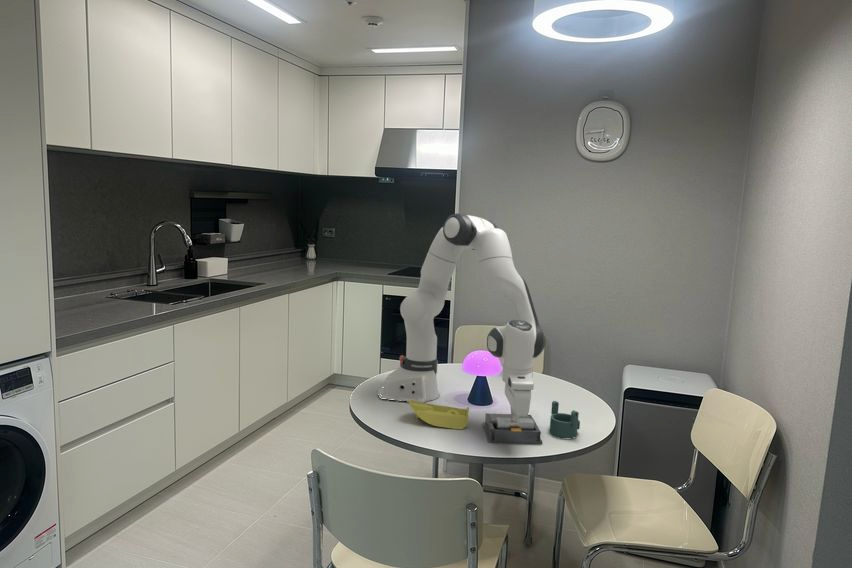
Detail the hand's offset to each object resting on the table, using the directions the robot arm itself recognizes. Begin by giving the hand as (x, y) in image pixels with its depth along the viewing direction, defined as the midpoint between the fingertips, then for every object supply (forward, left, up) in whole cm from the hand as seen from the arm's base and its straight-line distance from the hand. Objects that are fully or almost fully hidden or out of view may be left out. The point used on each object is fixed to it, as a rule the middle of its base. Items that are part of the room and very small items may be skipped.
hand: (514, 419), depth 167 cm
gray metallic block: (0, 0, -5) cm, 5 cm away
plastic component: (-22, +13, -6) cm, 27 cm away
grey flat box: (0, +3, -6) cm, 7 cm away
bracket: (+17, +5, -6) cm, 19 cm away
